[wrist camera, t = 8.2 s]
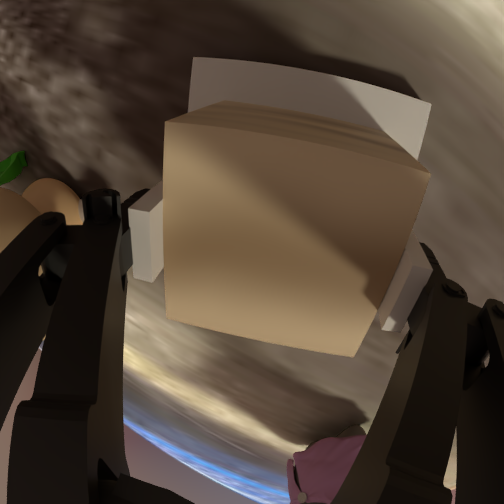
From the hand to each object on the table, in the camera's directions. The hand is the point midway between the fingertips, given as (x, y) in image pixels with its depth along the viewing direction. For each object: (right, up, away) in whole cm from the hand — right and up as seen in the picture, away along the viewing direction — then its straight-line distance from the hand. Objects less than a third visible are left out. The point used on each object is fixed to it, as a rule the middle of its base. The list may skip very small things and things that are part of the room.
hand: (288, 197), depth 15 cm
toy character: (+8, -23, +17) cm, 30 cm away
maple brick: (0, +1, +1) cm, 2 cm away
